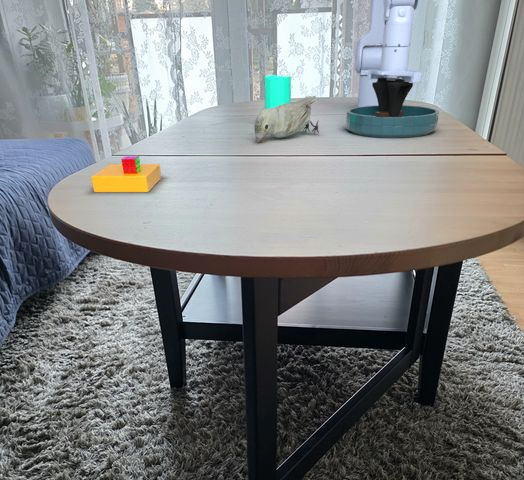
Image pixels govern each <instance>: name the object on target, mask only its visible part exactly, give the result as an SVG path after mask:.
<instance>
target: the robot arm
mask: <svg viewBox="0 0 524 480" xmlns="http://www.w3.org/2000/svg"><path fill="white" fill-rule="evenodd" d="M419 2H420V0H371V1H370V13H369V23H368V30H367V31H365V32H364V33H363V34H361V36H360V37H358V39H357V42H356V48H355V53H354V72H356V73H357V74H358V75H359V78H358V79H359V80H358V92H357V94H358V95H357V106H356V107H363V106H376V105H378V106H379V112H381V111H389V117H399V114H400V111H401V108H402V105H404V103H405V100H406V98H407V97H408V95H409V93H410V91H412V88H413V87H414V84H416V83H421V82H422V76H423V75H422V71H416V70H409V60H410V52H411V43H412V35H413V34H412V33H413V25H414V18H415V11H416V9H417V8H418V5H419Z"/></svg>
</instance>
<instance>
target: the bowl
mask: <svg viewBox="0 0 524 480" xmlns="http://www.w3.org/2000/svg"><path fill="white" fill-rule="evenodd" d="M401 111H403V117H380V116H375V112H379V106H378V105H376V106H363V107H357V106H356V107H352V108H349V109H347V110H346V118H345V128H346V130H347V131H349V132H350V133H352V134H354V135H358V136H364V137H371V138H387V139H389V138H391V139H399V138H400V139H402V138H415V137H422V136H427V135H429V134H431V133H432V132H435V131H436V130H437V127H438V121H439V115H440V110H439V109H435V108H433V107H428V106H418V105H405V104H403V105H402V108H401Z"/></svg>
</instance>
